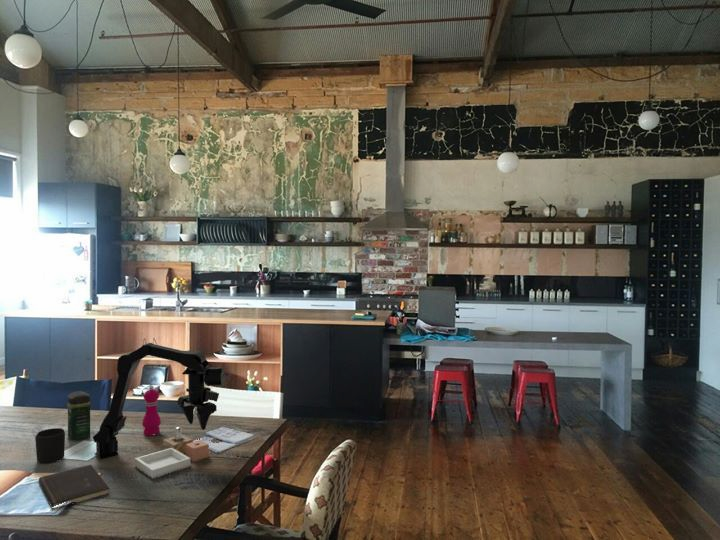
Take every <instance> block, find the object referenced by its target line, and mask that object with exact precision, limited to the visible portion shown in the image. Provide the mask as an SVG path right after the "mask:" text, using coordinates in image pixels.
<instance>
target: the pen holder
mask: <svg viewBox="0 0 720 540" xmlns="http://www.w3.org/2000/svg"><path fill="white" fill-rule="evenodd" d="M34 438H35V439H34V440H35V452H36V462H37V463H38V464H41V465H45V464H47V465H48V464H54V463H57V462H59V460H60V461H62V460H63V459H64V457H65V449H66V444H65V443H66V431H65V429H63V428H59V427H58V428H57V427H54V428H47V429H44V430H43V429H42V430H40V431H39V432H37V433H36V435H35V437H34ZM62 458H63V459H62Z"/></svg>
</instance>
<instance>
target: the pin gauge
mask: <svg viewBox="0 0 720 540" xmlns="http://www.w3.org/2000/svg"><path fill="white" fill-rule="evenodd" d="M182 430H183V429H182V426H176V427H174V437H175V442H179V441H181V438H182V433H183V432H182Z"/></svg>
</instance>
